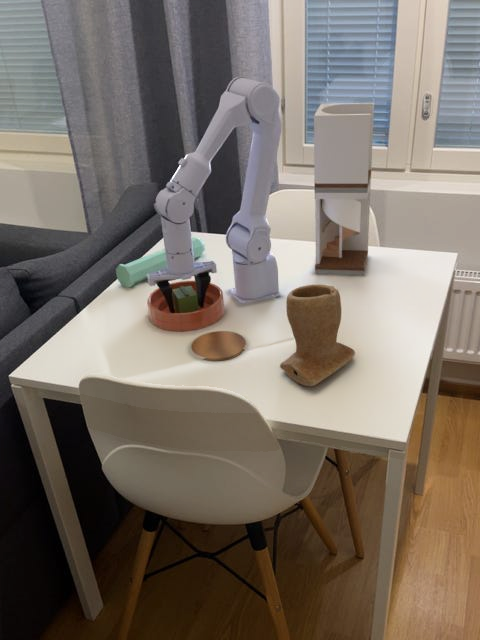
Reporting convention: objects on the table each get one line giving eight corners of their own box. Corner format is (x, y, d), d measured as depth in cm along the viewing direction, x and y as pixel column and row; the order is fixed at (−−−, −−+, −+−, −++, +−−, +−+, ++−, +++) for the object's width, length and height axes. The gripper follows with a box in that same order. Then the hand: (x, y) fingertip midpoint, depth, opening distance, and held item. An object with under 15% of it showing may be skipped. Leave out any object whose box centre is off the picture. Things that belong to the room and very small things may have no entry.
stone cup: (313, 340, 139) (313, 270, 130) (363, 359, 132) (366, 286, 123) (263, 373, 130) (259, 300, 121) (313, 394, 123) (313, 319, 114)
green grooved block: (193, 306, 153) (190, 283, 150) (199, 315, 149) (197, 292, 146) (174, 310, 152) (171, 287, 149) (180, 320, 148) (177, 297, 145)
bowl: (211, 293, 159) (209, 275, 157) (234, 323, 147) (233, 304, 144) (142, 308, 156) (139, 289, 153) (160, 340, 143) (157, 320, 140)
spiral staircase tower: (315, 274, 164) (314, 115, 143) (321, 256, 172) (321, 103, 151) (363, 275, 161) (370, 114, 141) (367, 257, 170) (374, 102, 149)
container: (195, 228, 176) (116, 259, 162) (211, 242, 174) (132, 274, 160) (191, 247, 181) (114, 279, 167) (206, 260, 179) (130, 293, 165)
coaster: (235, 329, 145) (235, 326, 144) (254, 353, 136) (253, 350, 136) (185, 340, 142) (184, 338, 142) (200, 366, 134) (200, 363, 133)
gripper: (149, 262, 137) (158, 324, 145) (218, 248, 141) (224, 309, 149) (141, 250, 143) (150, 310, 151) (208, 237, 146) (214, 296, 154)
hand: (186, 309), depth 150 cm, fingers open, 6 cm apart
